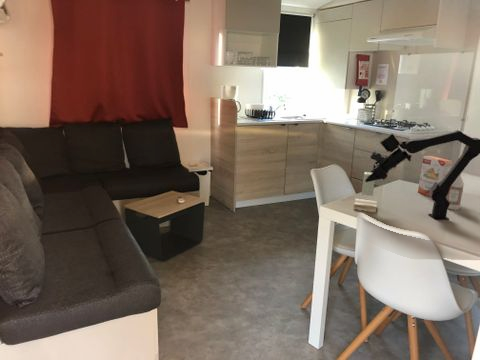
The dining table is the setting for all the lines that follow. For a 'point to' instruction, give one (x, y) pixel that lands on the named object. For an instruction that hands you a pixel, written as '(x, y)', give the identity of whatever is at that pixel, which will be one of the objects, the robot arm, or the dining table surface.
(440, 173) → the cracker box
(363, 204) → the birch block
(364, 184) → the tea tin
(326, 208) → the dining table surface
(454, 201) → the bath foam
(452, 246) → the dining table surface
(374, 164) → the robot arm
